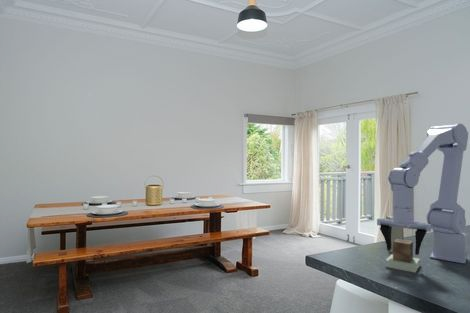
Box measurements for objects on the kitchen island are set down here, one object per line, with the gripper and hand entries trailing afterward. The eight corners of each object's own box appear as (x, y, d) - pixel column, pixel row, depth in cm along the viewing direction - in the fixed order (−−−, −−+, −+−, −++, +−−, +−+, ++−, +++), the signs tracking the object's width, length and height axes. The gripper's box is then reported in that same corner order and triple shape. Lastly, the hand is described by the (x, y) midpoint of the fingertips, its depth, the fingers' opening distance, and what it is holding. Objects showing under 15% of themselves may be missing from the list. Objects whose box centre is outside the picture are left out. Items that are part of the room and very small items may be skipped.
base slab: (419, 265, 99) (419, 258, 99) (415, 272, 93) (415, 265, 93) (391, 260, 104) (391, 253, 104) (385, 266, 98) (385, 260, 98)
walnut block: (412, 259, 99) (413, 241, 99) (409, 262, 95) (409, 244, 95) (396, 256, 102) (396, 238, 102) (393, 259, 98) (393, 241, 98)
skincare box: (404, 254, 111) (404, 218, 111) (390, 253, 112) (390, 218, 112) (398, 248, 117) (398, 215, 117) (385, 248, 118) (385, 214, 118)
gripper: (374, 206, 100) (374, 250, 100) (428, 211, 91) (428, 259, 91) (380, 203, 105) (380, 245, 105) (431, 208, 97) (431, 253, 97)
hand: (402, 251), depth 99 cm, fingers open, 7 cm apart
